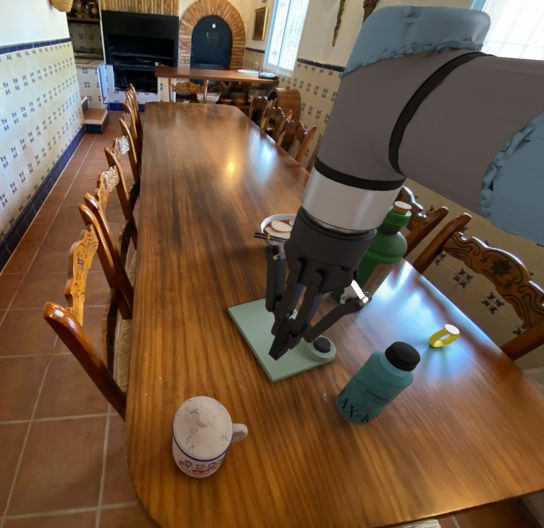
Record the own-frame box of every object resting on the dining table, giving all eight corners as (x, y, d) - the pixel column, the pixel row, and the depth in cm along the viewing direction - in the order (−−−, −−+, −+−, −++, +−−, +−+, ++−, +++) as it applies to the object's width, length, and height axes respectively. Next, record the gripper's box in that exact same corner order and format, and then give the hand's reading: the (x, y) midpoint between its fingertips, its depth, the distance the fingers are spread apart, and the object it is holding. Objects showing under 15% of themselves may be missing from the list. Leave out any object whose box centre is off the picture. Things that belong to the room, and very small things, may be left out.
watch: (442, 338, 71) (458, 322, 68) (452, 348, 69) (469, 332, 65) (421, 341, 70) (436, 325, 67) (430, 351, 68) (446, 335, 64)
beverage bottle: (329, 391, 59) (376, 328, 46) (364, 399, 58) (421, 337, 45) (334, 425, 54) (389, 365, 41) (373, 434, 53) (440, 376, 40)
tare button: (331, 350, 63) (333, 346, 62) (320, 354, 62) (322, 350, 61) (321, 339, 65) (324, 335, 64) (310, 343, 64) (313, 338, 63)
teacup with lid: (172, 483, 45) (174, 456, 38) (169, 421, 52) (171, 388, 45) (247, 475, 47) (264, 447, 40) (235, 416, 54) (247, 383, 46)
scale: (336, 361, 64) (342, 353, 62) (273, 385, 59) (276, 377, 57) (282, 296, 79) (285, 288, 77) (227, 311, 73) (229, 302, 71)
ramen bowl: (329, 241, 101) (338, 220, 96) (334, 284, 84) (346, 262, 79) (256, 225, 105) (261, 205, 100) (247, 264, 88) (252, 241, 83)
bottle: (371, 317, 75) (437, 223, 57) (327, 304, 77) (377, 210, 60) (368, 290, 83) (425, 200, 65) (328, 279, 85) (373, 189, 68)
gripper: (423, 233, 27) (330, 371, 42) (304, 181, 35) (261, 314, 50) (388, 262, 23) (299, 402, 38) (262, 197, 31) (229, 335, 46)
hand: (277, 352), depth 44 cm, fingers closed
